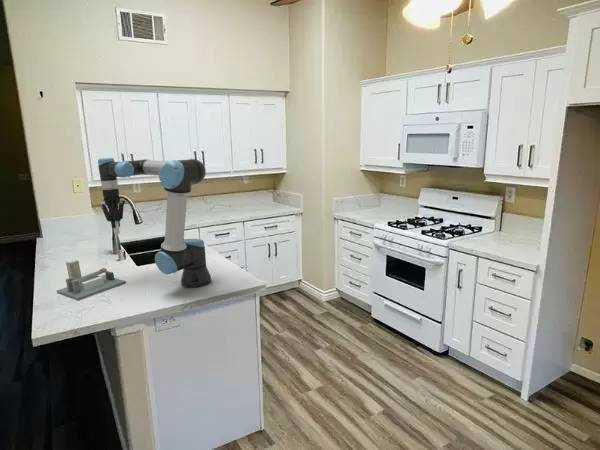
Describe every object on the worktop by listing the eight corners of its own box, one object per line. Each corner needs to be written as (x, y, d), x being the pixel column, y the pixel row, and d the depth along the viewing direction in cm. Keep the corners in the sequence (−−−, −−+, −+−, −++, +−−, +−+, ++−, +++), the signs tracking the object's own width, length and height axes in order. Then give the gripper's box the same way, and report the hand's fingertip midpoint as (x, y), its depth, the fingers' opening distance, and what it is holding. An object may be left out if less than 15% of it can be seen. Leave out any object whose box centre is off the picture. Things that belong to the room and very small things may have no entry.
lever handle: (107, 271, 205) (106, 268, 204) (76, 283, 192) (75, 280, 191) (104, 270, 206) (103, 267, 206) (73, 282, 193) (72, 279, 193)
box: (79, 277, 216) (75, 258, 213) (82, 279, 213) (79, 260, 211) (68, 280, 212) (65, 261, 209) (72, 282, 209) (68, 262, 207)
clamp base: (126, 283, 205) (124, 269, 203) (78, 300, 185) (75, 285, 183) (104, 277, 216) (102, 263, 214) (56, 292, 195) (54, 278, 194)
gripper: (117, 186, 206) (124, 230, 211) (93, 190, 195) (101, 235, 200) (126, 187, 202) (132, 231, 207) (102, 190, 191) (109, 237, 196)
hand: (117, 233), depth 203 cm, fingers closed
